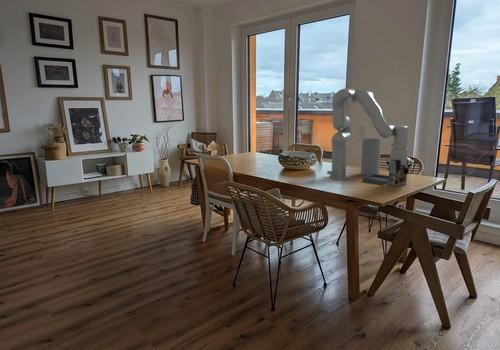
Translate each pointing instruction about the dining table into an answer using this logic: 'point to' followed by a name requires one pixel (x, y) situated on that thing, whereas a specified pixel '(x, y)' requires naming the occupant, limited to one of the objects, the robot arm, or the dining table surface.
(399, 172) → the coffee box
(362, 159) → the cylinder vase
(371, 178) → the tray
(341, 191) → the dining table surface
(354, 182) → the dining table surface
